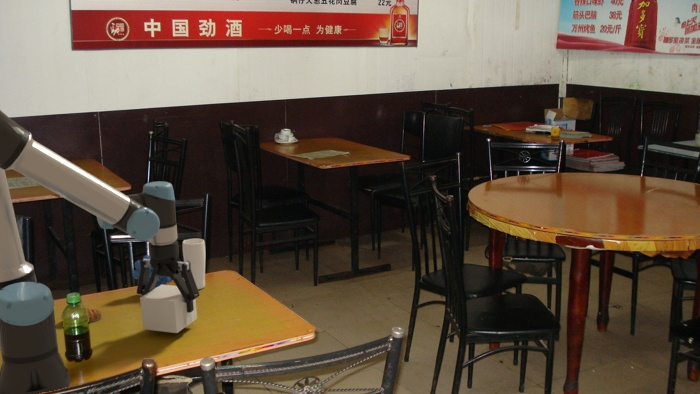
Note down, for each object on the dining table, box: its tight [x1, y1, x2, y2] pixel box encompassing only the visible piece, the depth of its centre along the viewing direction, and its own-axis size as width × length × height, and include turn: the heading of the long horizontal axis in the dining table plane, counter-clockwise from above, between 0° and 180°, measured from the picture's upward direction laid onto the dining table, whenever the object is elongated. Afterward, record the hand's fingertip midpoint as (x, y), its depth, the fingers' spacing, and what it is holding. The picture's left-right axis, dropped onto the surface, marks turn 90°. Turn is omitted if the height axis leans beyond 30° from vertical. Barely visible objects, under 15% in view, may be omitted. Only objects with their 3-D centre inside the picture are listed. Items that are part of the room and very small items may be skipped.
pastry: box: [85, 307, 102, 324], centre depth 209 cm, size 9×7×4 cm
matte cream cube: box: [139, 284, 198, 334], centre depth 199 cm, size 10×10×9 cm
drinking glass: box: [182, 237, 206, 291], centre depth 232 cm, size 7×7×15 cm
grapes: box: [132, 254, 173, 289], centre depth 228 cm, size 12×7×12 cm, turn 110°
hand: (170, 321), depth 200 cm, fingers closed on matte cream cube, 10 cm apart
